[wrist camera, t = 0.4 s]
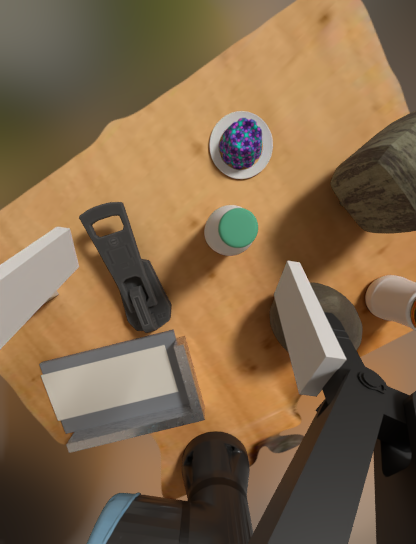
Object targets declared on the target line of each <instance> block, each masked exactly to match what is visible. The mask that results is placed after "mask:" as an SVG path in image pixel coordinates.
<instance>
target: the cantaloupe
mask: <svg viewBox="0 0 416 544" xmlns="http://www.w3.org/2000/svg"><path fill="white" fill-rule="evenodd" d="M310 285H311V287H312V289H313V291H314V293H315V295H316V297H317V299H318V301H319V303H320V305H321V307H322V310H323V312H328V313H333V314H334V315H335V316H336V317H337V318H338V319H339V320H340V321H341V323H342V325H343V327H344V329H345V332H346V333H347V334H348V336H349V339H350V340H351V342H352V344H353V345H354V347H355V349H356V350H357V349H358V347H359V345H360V343H361V340H362V323H361V320H360V318H359V316H358V313H357V311H356V309H355V307H354V306H353V304H352V303H351V302H350V301H349V300H348V299H347V298H346V297H345V296H343V295H342V294H341V293H340V292H338V291H336V290H335V289H333V288H331V287H328V286H325V285H322V284H319V283H310ZM270 324H271V328H272V330H273V333H274V335H275V337H276V338H277V340H278V341H279V343H280V344H281V345H282V346H283V347H284V348H285V349H286V350H287V351H288V348H287V344H286V340H285V336H284V332H283V329H282V325H281V321H280V317H279V313H278V309H277V305H276V301H275V299H274V301H273V303H272V305H271V307H270Z"/></svg>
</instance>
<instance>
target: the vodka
mask: <svg viewBox="0 0 416 544" xmlns="http://www.w3.org/2000/svg"><path fill="white" fill-rule="evenodd" d="M365 301H366V305H367V307H368V309H369V310H370V312H371V313H372V314H373V315H375V316H377V317H379V318H381V319H384V320H388V321H394V322H397V323H400V324H403V325H405V326H408V327H410V328H412V329H413V330H415V331H416V282H412V281H409V280H408V279H406V278H403V277H400V276H395V275H386V276H383V277H380V278H378V279H376V280H375V281H373V282H372V283H371V285H370V286H369V287H368V289H367V292H366V296H365Z"/></svg>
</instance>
